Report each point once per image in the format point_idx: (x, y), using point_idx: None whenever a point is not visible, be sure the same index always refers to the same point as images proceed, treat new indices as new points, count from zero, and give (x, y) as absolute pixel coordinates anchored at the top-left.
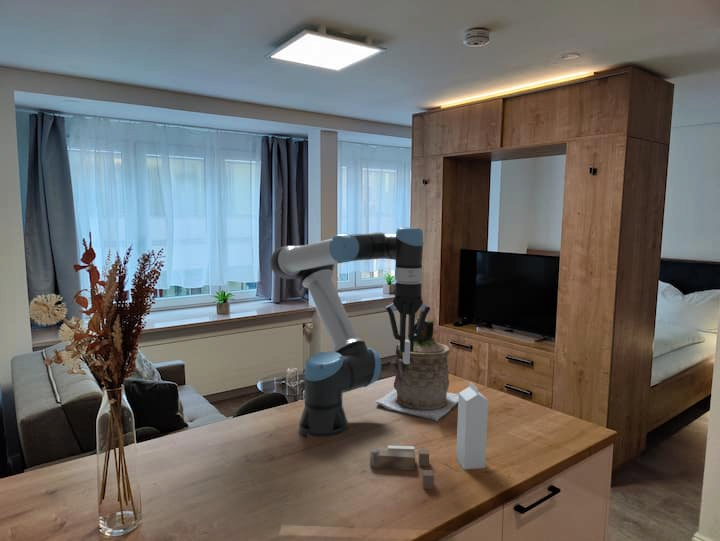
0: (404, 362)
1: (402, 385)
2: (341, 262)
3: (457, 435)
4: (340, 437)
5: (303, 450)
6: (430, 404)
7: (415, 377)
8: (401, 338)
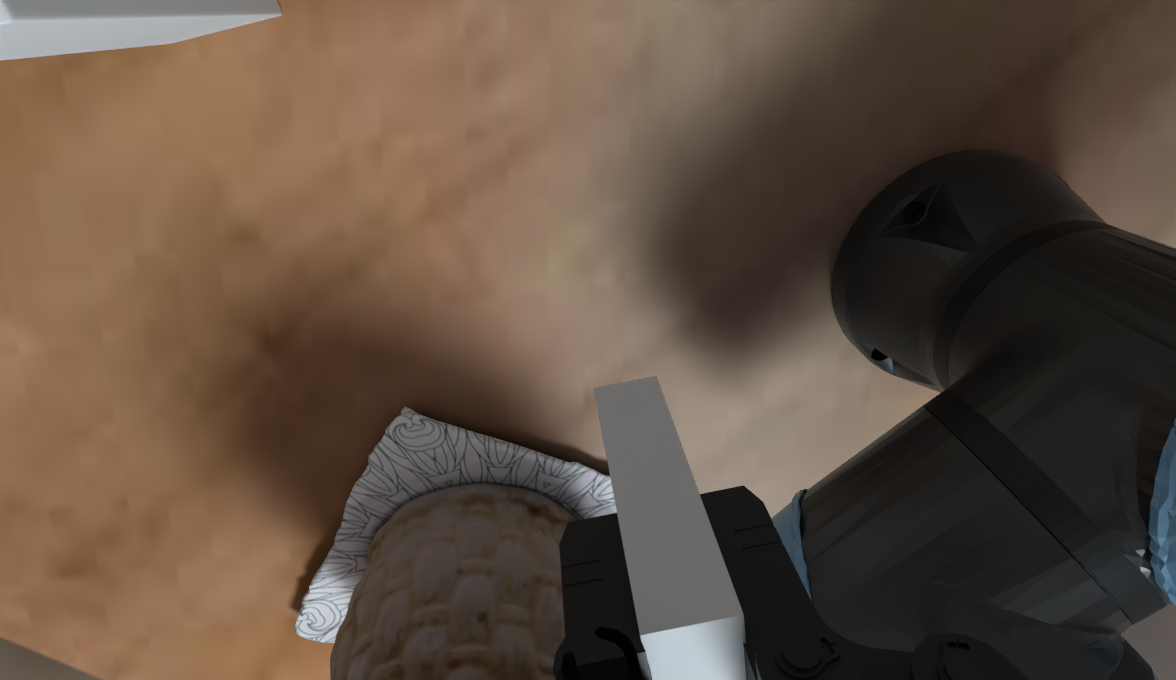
0: (660, 390)
1: None
2: None
3: (222, 4)
4: (874, 195)
5: (1071, 36)
6: (438, 510)
7: (513, 622)
8: (852, 674)
